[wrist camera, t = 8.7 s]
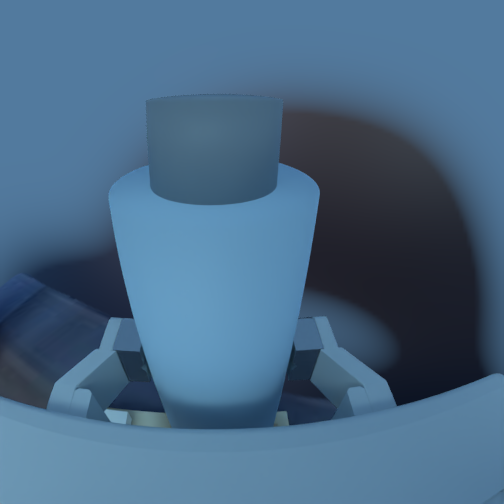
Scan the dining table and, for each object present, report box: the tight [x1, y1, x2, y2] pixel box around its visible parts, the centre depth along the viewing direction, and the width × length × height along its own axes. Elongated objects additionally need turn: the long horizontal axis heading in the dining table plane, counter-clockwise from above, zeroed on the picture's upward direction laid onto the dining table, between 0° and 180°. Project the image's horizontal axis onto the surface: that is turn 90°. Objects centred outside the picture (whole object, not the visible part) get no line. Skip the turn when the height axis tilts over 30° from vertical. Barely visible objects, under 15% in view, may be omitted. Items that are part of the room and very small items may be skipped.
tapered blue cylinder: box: [108, 94, 320, 429], centre depth 10 cm, size 5×5×16 cm
